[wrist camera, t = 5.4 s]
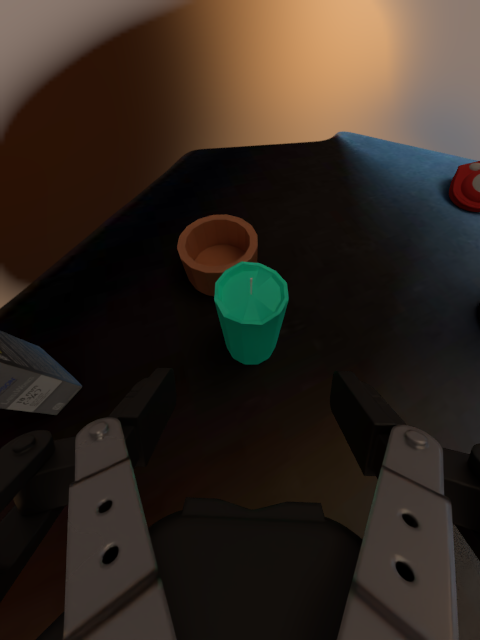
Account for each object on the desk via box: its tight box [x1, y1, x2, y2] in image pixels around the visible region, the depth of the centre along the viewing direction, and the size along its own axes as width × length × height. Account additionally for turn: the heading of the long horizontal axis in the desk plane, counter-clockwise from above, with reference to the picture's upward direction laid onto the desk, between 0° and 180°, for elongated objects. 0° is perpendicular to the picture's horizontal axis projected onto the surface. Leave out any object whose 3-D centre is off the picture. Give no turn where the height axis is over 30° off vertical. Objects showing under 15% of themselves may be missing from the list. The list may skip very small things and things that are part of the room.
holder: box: [177, 215, 258, 296], centre depth 30 cm, size 10×10×5 cm
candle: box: [214, 261, 289, 364], centre depth 22 cm, size 6×6×12 cm
